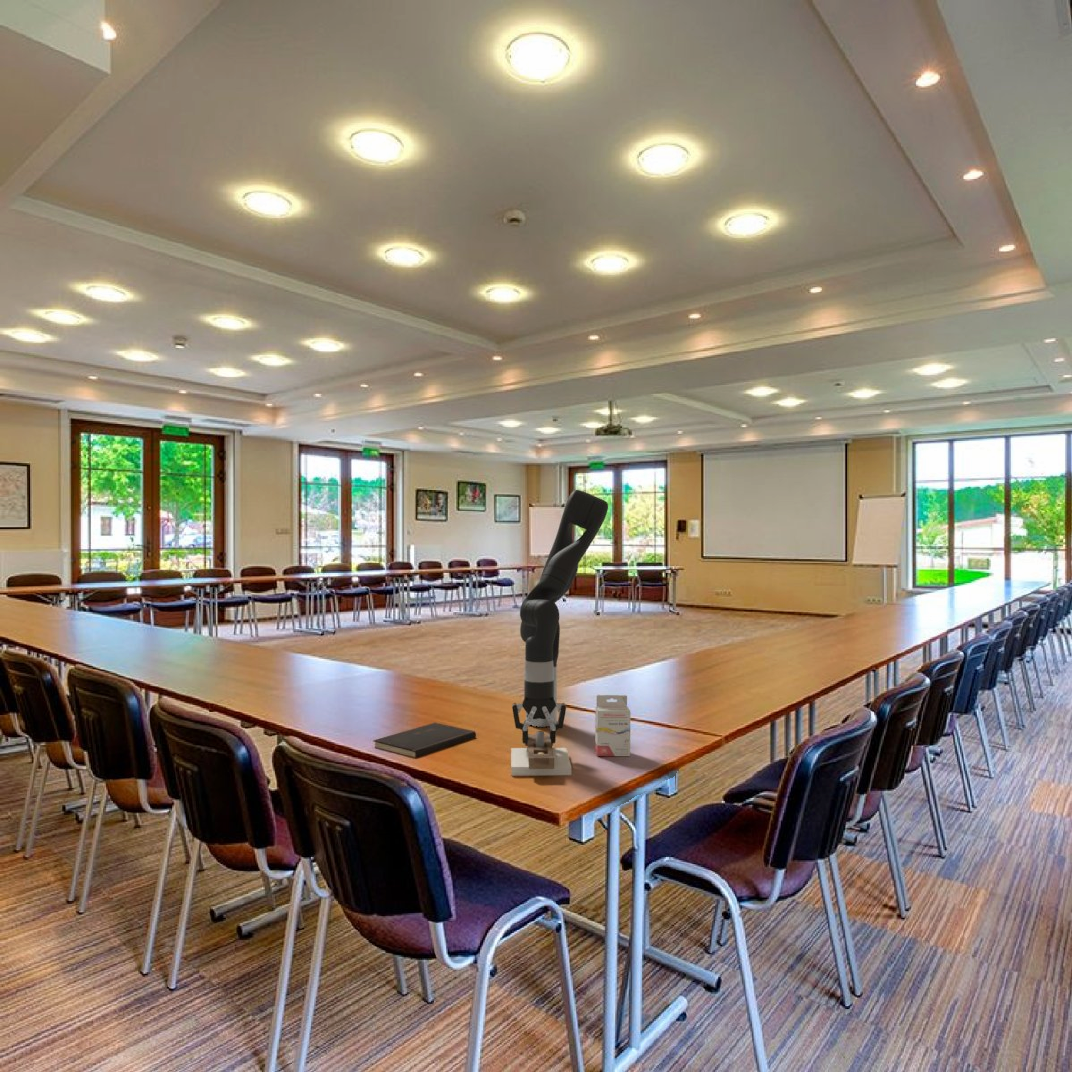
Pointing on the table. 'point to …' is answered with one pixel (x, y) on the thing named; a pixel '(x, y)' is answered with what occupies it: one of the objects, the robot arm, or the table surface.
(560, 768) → the post base
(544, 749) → the walnut bar
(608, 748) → the ink cartridge box
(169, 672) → the table surface
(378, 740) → the hardcover book
